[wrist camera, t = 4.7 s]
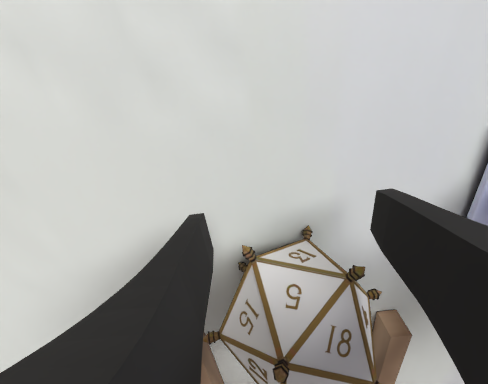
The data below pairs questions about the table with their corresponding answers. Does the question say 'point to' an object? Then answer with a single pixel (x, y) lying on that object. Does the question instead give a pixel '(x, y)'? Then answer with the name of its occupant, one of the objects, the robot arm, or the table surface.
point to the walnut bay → (384, 339)
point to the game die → (300, 319)
